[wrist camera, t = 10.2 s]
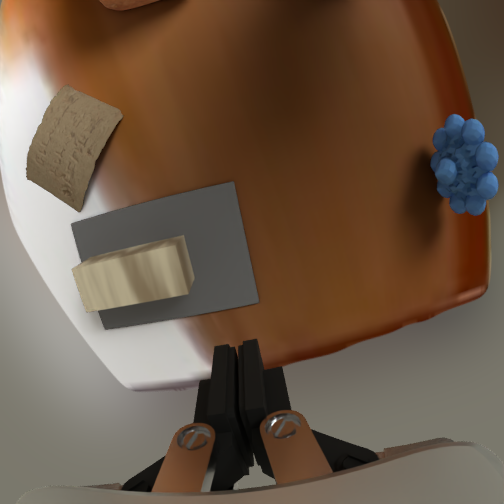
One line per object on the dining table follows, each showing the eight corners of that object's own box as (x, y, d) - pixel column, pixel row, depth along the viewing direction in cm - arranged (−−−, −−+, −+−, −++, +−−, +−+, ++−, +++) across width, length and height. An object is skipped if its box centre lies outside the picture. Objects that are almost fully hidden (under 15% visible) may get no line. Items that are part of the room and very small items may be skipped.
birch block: (175, 245, 30) (71, 269, 30) (188, 294, 31) (86, 312, 31) (183, 235, 34) (90, 257, 34) (194, 277, 36) (102, 295, 36)
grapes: (395, 126, 33) (455, 113, 21) (436, 117, 33) (498, 106, 21) (417, 218, 36) (479, 238, 24) (456, 204, 35) (518, 218, 24)
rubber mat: (233, 181, 34) (233, 181, 33) (259, 301, 37) (259, 302, 37) (72, 223, 34) (70, 223, 33) (106, 328, 37) (105, 329, 37)
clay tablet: (69, 81, 30) (59, 76, 27) (132, 106, 31) (124, 102, 29) (26, 186, 33) (14, 187, 30) (83, 218, 34) (72, 222, 32)
